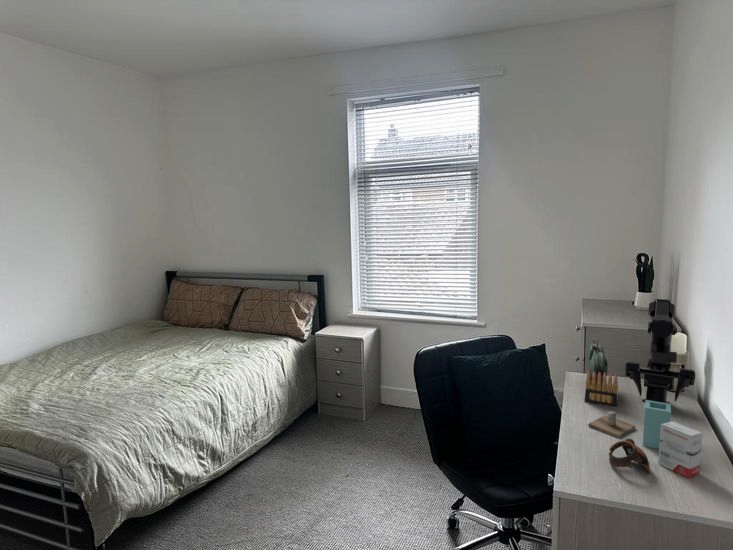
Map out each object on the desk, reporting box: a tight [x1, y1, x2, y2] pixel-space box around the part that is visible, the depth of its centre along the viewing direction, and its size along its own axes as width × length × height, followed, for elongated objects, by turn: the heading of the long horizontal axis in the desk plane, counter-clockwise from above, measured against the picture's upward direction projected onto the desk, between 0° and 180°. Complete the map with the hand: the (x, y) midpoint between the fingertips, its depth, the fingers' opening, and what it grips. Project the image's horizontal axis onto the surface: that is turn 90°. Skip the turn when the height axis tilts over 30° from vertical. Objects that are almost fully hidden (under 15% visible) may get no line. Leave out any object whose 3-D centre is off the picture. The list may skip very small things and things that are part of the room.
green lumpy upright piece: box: [587, 339, 608, 390], centre depth 183 cm, size 20×6×20 cm, turn 158°
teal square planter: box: [642, 400, 672, 450], centre depth 144 cm, size 6×6×12 cm
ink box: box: [657, 420, 704, 479], centre depth 130 cm, size 8×5×12 cm, turn 26°
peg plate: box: [587, 410, 636, 439], centre depth 155 cm, size 10×10×5 cm
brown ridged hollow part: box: [608, 438, 651, 475], centre depth 133 cm, size 12×10×8 cm
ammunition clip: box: [584, 369, 619, 408], centre depth 173 cm, size 11×2×12 cm, turn 59°
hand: (657, 397), depth 148 cm, fingers open, 9 cm apart
